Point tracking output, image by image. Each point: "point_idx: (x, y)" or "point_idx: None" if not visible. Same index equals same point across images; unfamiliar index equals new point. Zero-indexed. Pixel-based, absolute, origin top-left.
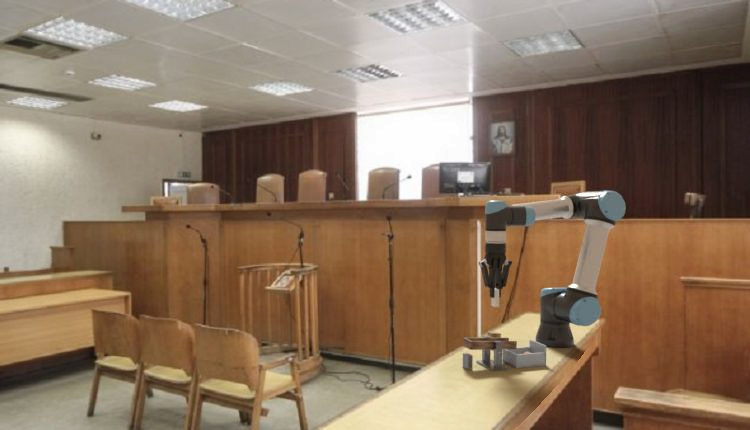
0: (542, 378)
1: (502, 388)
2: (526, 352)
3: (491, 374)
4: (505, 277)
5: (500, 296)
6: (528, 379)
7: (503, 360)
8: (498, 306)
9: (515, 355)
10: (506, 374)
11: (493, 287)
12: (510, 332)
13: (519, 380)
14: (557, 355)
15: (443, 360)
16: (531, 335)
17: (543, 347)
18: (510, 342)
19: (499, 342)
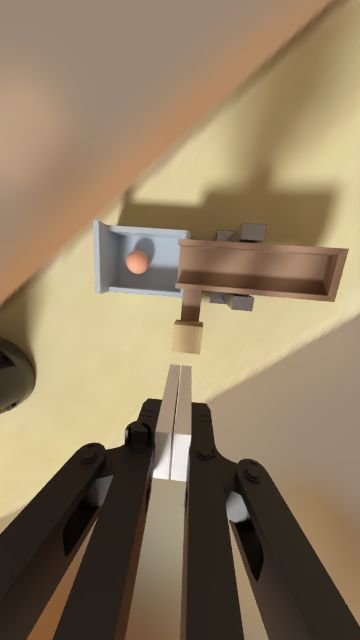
0: (182, 146)
1: (323, 106)
2: (140, 260)
3: (271, 217)
4: (17, 558)
5: (147, 401)
6: (218, 150)
7: None
8: (173, 365)
9: (189, 236)
10: (240, 205)
11: (209, 452)
12: (43, 463)
13: (243, 151)
14: (43, 293)
15: (298, 345)
16: (14, 432)
17: (101, 227)
18: (200, 240)
19: (254, 224)
